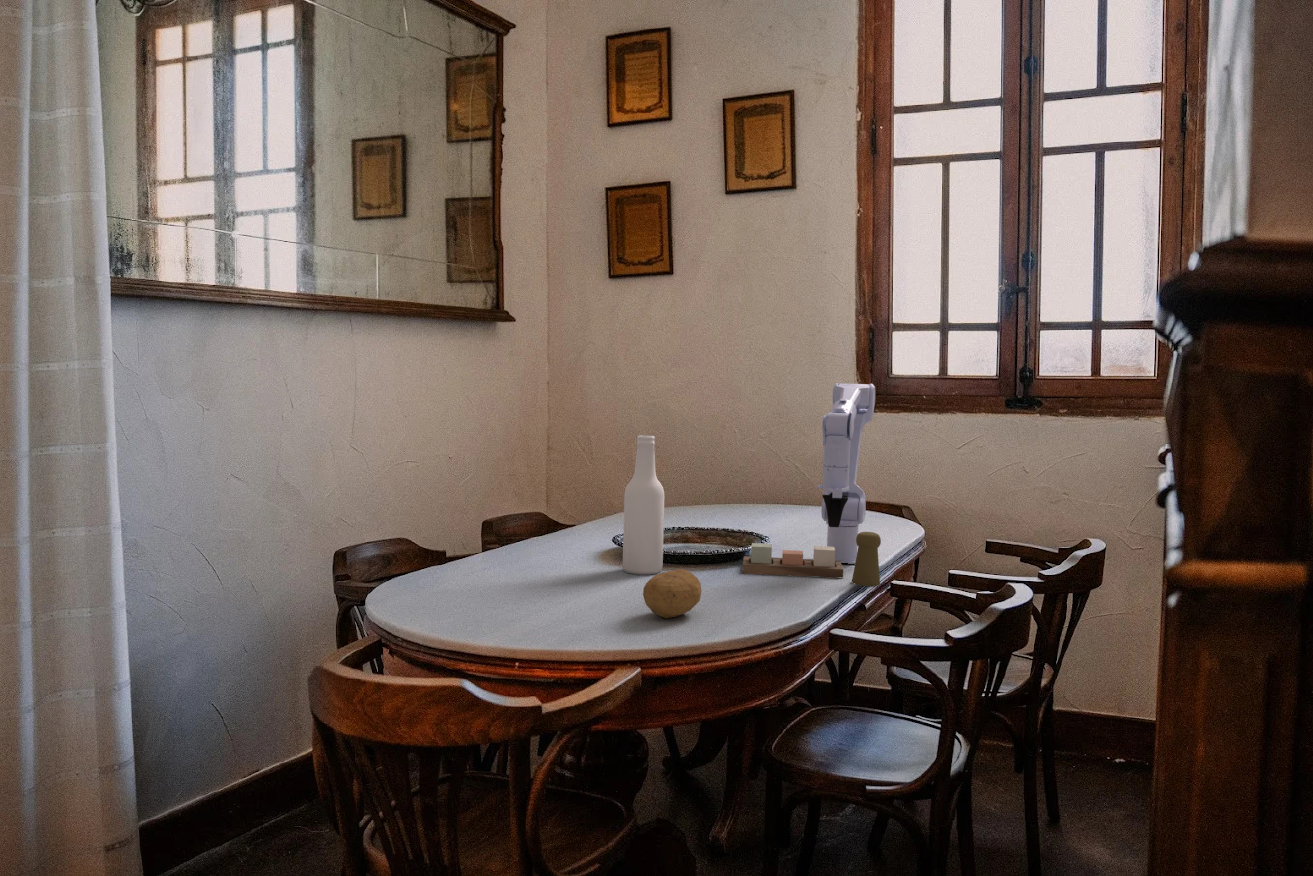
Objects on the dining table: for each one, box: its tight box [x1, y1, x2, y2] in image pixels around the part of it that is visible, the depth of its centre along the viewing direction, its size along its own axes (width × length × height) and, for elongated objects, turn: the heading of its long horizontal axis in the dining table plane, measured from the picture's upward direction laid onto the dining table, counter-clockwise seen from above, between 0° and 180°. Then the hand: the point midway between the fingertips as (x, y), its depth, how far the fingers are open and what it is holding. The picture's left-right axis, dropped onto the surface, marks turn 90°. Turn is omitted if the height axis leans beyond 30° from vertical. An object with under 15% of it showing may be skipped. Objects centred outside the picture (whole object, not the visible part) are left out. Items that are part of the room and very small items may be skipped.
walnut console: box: [742, 555, 844, 578], centre depth 232 cm, size 10×22×2 cm, turn 84°
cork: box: [851, 531, 882, 587], centre depth 221 cm, size 6×6×11 cm
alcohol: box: [622, 434, 665, 576], centre depth 227 cm, size 9×9×30 cm
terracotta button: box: [781, 549, 804, 565], centre depth 232 cm, size 4×4×4 cm
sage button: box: [750, 542, 773, 564], centre depth 233 cm, size 4×4×4 cm
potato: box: [642, 568, 702, 619], centre depth 188 cm, size 10×14×8 cm
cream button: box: [812, 545, 835, 567], centre depth 231 cm, size 4×4×4 cm
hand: (833, 526), depth 231 cm, fingers closed
